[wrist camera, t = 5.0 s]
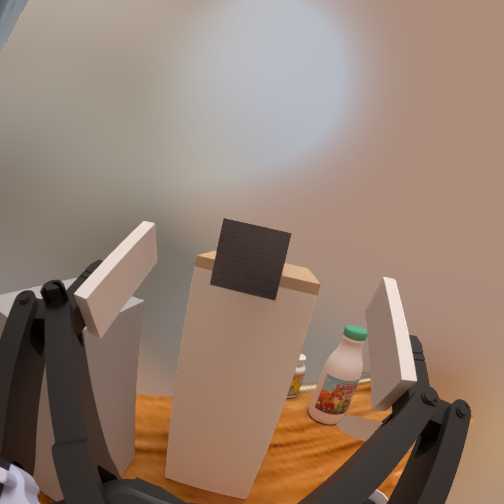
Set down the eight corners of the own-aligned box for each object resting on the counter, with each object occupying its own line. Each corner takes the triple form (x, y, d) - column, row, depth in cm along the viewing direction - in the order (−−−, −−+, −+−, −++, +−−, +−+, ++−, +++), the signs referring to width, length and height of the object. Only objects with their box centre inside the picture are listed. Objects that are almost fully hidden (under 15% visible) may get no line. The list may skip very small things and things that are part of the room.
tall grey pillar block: (28, 481, 16) (-18, 299, 15) (82, 431, 30) (78, 277, 28) (89, 521, 16) (51, 345, 14) (134, 457, 30) (144, 300, 28)
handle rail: (209, 284, 15) (223, 218, 15) (255, 253, 41) (260, 229, 41) (275, 300, 15) (291, 233, 14) (279, 259, 41) (285, 234, 40)
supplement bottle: (300, 392, 60) (312, 356, 59) (292, 401, 55) (304, 363, 54) (279, 383, 62) (290, 348, 62) (270, 392, 58) (281, 355, 57)
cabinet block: (164, 477, 28) (196, 255, 25) (189, 429, 40) (223, 248, 37) (246, 499, 27) (320, 284, 24) (255, 447, 39) (308, 268, 36)
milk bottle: (299, 410, 52) (329, 322, 50) (322, 401, 57) (351, 320, 55) (327, 430, 46) (363, 338, 44) (348, 418, 51) (382, 333, 49)
